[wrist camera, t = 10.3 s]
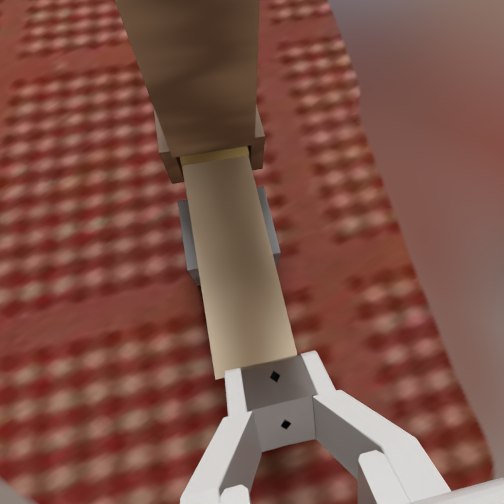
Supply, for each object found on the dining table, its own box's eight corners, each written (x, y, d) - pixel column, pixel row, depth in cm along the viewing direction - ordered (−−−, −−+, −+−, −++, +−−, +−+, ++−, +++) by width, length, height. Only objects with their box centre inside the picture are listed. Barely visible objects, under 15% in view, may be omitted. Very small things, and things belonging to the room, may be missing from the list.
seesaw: (211, 377, 21) (185, 387, 12) (178, 159, 27) (146, 65, 18) (296, 358, 21) (329, 355, 13) (245, 148, 27) (244, 51, 19)
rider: (172, 183, 20) (69, -63, 9) (165, 136, 22) (69, -133, 10) (262, 168, 21) (281, -84, 9) (250, 123, 22) (254, -147, 11)
